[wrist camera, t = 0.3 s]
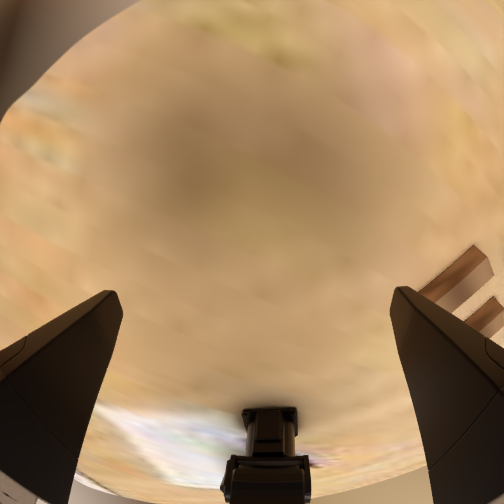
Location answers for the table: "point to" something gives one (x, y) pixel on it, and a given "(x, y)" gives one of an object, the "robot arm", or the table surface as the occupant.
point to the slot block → (467, 291)
